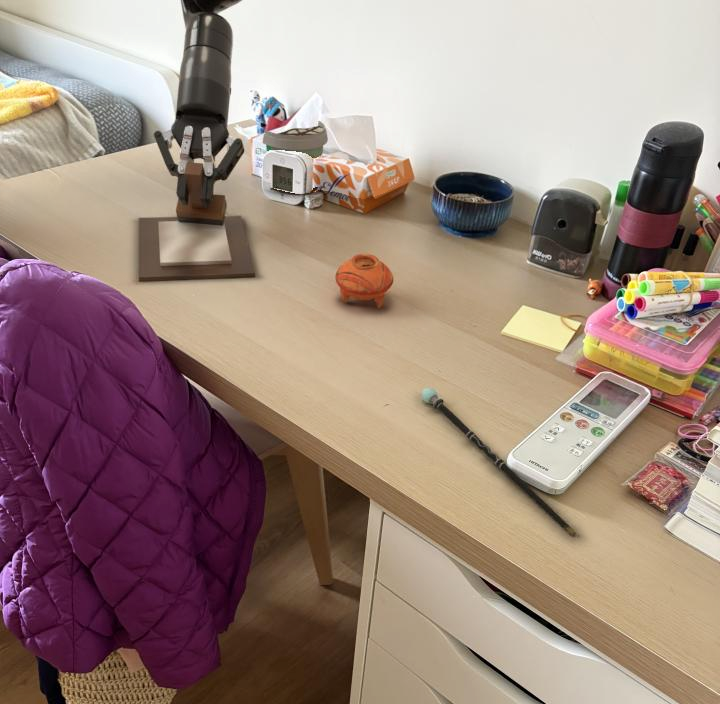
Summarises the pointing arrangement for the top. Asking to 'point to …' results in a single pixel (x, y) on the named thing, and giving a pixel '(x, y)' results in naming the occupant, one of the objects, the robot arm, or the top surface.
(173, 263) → the tile board
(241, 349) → the top surface
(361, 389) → the top surface
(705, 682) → the top surface
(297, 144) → the food container
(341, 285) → the pot
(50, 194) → the top surface
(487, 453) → the black stick
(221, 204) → the brown t-shaped stand
